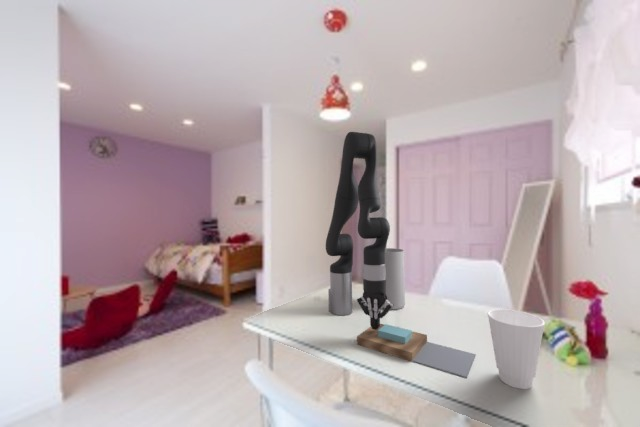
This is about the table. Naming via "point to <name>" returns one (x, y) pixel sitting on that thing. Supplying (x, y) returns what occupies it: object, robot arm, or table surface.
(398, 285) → the cylinder vase
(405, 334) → the tile
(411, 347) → the block
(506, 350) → the cup
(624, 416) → the table surface
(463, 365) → the mat
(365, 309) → the robot arm
